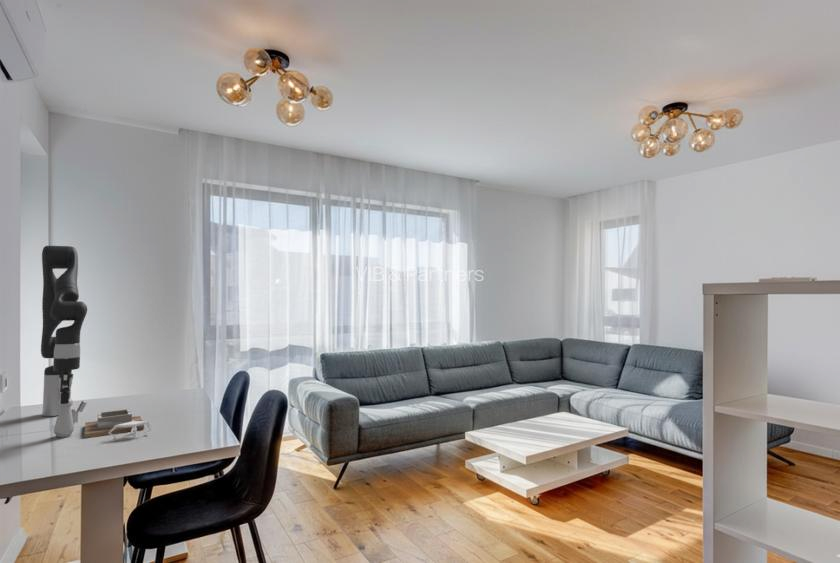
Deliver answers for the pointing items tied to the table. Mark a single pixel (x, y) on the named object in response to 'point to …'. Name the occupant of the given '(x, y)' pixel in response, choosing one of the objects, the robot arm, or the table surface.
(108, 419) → the wooden base with frame
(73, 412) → the lighter
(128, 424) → the white bent open piece
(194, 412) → the table surface
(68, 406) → the salt shaker
